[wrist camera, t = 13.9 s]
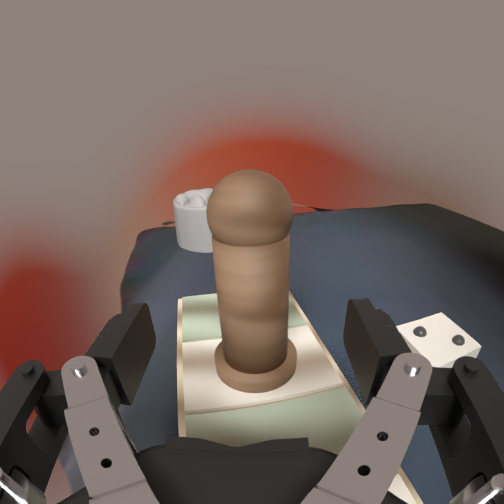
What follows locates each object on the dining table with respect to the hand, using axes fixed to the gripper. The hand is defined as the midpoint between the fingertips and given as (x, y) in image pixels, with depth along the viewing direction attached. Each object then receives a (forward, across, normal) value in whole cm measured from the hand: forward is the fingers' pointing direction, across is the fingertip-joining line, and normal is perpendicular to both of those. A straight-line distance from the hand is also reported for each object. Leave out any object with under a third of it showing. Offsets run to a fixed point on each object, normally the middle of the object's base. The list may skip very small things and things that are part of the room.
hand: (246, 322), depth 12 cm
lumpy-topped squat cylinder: (+41, +9, +11) cm, 43 cm away
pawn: (+7, 0, +9) cm, 12 cm away
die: (+4, -13, +11) cm, 17 cm away
